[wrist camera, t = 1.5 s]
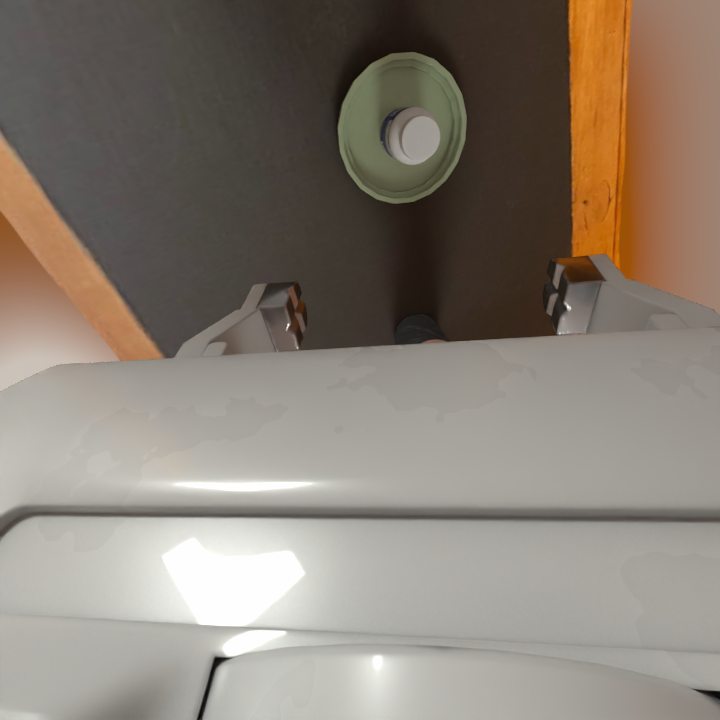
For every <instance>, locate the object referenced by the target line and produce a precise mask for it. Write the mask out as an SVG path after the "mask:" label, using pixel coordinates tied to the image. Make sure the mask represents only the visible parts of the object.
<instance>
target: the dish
mask: <svg viewBox="0 0 720 720" xmlns="http://www.w3.org/2000/svg"><path fill="white" fill-rule="evenodd" d="M403 107H420V108H424V109H426V110H427V111H429V112H430V113H431V114H432V115H433V116H434V118H435V120H436V122H437V124H438V127H439V130H440V142H439V145H438V148H437V150H436V151H435V153H434V154H433V155H432V156H430V157H429V158H428V159H427V160H425V161H424V162H422V163H420V164H416V165H409V164H404V163H402V162H400V161H398V160H396V159H394V158H392V157H390V156H389V155H388V154H387V153H386V152H385V151H384V150H383V148H382V146H381V143H380V139H379V131H380V126H381V123H382V121H383V120H384V118H385V117H386V115H387V114H388V113H390V112H391V111H393V110H395V109H398V108H403ZM466 117H467V116H466V111H465V106H464V101H463V96H462V93H461V91H460V89H459V88H458V86H457V84H456V82H455V80H454V78H453V77H452V75H451V73H449V72H448V71H447V70H446V69H445V68H444V67H443V66H442V65H440V64H439V63H438V62H437V61H436V60H434V59H433V58H430V57H427V56H424V55H421V54H419V53H416V52H405V53H392V54H389V55H387V56H385V57H383V58H381V59H379V60H377V61H375V62H373V63H371V64H370V65H368V66H367V67H366V68H365V69H364V70H363V71H362V72H361V73H360V74H359V75H358V76H357V78H356V79H355V80H354V81H353V82H352V83H351V85H350V87H349V89H348V91H347V93H346V95H345V97H344V99H343V101H342V104H341V107H340V113H339V118H338V123H337V136H338V148H339V153H340V155H341V158H342V161H343V163H344V166H345V168H346V171H347V172H348V173H349V175H350V176H351V177H352V179H353V180H354V181H355V182H356V184H357V185H358V186H359V188H360V189H362V190H363V191H365V192H366V193H368V194H369V195H371V196H372V197H374V198H375V199H377V200H381V201H385V202H389V203H393V204H397V203H407V202H414V201H416V200H418V199H420V198H423V197H425V196H427V195H429V194H431V193H432V192H433V191H435V190H436V189H437V188H438V187H439V186H440V185H441V184H443V183H444V182H445V181H446V180H447V178H448V177H449V175H450V174H451V172H452V171H453V169H454V168H455V166H456V164H457V163H458V160H459V158H460V155H461V152H462V149H463V146H464V143H465V136H466V122H467V118H466Z"/></svg>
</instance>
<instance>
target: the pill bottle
mask: <svg viewBox="0 0 720 720" xmlns="http://www.w3.org/2000/svg"><path fill="white" fill-rule="evenodd" d="M379 139H380V143H381V146H382V148H383V150H384V151H385V152H386V153H387V154H388V155H389V156H390V157H392V158H394V159H396V160H398V161H400V162H402V163H404V164H409V165H416V164H420V163H422V162H424V161H425V160H427V159H428V158H429V157H430V156H432V155H433V154H434V153H435V151H436V150H437V148H438V145H439V142H440V130H439V127H438V124H437V122H436V120H435V118H434V116H433V115H432V114H431V113H430V112H429V111H427V110H426V109H424V108H420V107H403V108H398V109H395V110H393V111H391V112H390V113H388V114H387V115H386V117H385V118H384V120H383V121H382V123H381V126H380V131H379Z"/></svg>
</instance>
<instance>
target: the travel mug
mask: <svg viewBox="0 0 720 720" xmlns="http://www.w3.org/2000/svg"><path fill="white" fill-rule="evenodd" d="M395 341H396V344H397V345H406V344H424V343H441V342H450V341H449V340H448V338H447V337H446V335H445V334H444V333H443V331H442V330H441V329H440V327H439V326H438V325H437V323H436V322H435V321H434V320H433V319H432V318H431V317H429V316H427V315H422V314H416V315H412V316H409V317H407V318H406V319H404V320H403V321H402V322H401V323H400V324H399V325H398V327H397V329H396V332H395Z"/></svg>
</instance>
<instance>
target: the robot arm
mask: <svg viewBox="0 0 720 720" xmlns="http://www.w3.org/2000/svg"><path fill="white" fill-rule="evenodd" d="M547 273H548V275H549V277H550V280H549V281H548V282H547V283H546V284H545V285H544V291H543V304H544V309H545V311H546V313H547V314H549V315H551V316H552V317H551V321H550V322H551V324H552V326H553V328H554V330H555V332H556V334H557V335H560V336H543V337H526V338H509V339H492V340H475V341H458V342H441V343H424V344H406V345H389V346H372V347H355V348H338V349H320V350H303V351H293V350H300V347H301V344H302V340H303V335H302V332H303V331H304V330H305V329H306V326H307V311H306V307H305V303H304V302H302V301H301V300H300V296H301V293H302V292H301V289H300V286H299V284H298V283H297V281H295V282H281V283H264V284H256V285H253V287H252V289H251V291H250V293H249V295H248V296H247V298H246V300H245V302H244V304H243V306H242V308H241V310H236V311H234V312H233V313H231V314H229V315H228V316H226V317H225V318H223V319H221V320H220V321H218V322H217V323H215V324H214V325H212V326H210V327H209V328H207V329H206V330H204V331H202V332H201V333H199V334H198V335H196V336H194V337H193V338H191V339H190V340H188V341H186V342H185V343H183V345H182V346H181V348H180V349H179V351H178V352H177V354H176V356H175V357H174V358H167V359H150V360H133V361H117V362H99V363H75V364H61V365H56V366H53V367H50V368H48V369H45V370H43V371H41V372H39V373H36V374H34V375H32V376H30V377H28V378H26V379H24V380H22V381H20V382H18V383H16V384H14V385H12V386H10V387H8V388H6V389H4V390H2V391H0V720H720V315H719V314H718V313H717V312H716V311H715V310H714V309H711V308H708V307H705V306H703V305H700V304H697V303H694V302H692V301H689V300H687V299H684V298H681V297H678V296H676V295H673V294H670V293H667V292H665V291H662V290H659V289H657V288H654V287H651V286H649V285H646V284H643V283H640V282H638V281H635V280H627V279H626V278H625V277H624V276H623V274H622V273H621V272H620V271H619V269H618V268H617V267H616V266H615V265H614V263H613V262H612V261H611V260H610V258H609V257H608V256H607V255H605V254H598V255H590V256H579V257H570V258H561V259H553V260H550V263H549V265H548V270H547ZM565 334H577V335H565ZM281 351H286V352H281Z"/></svg>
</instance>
